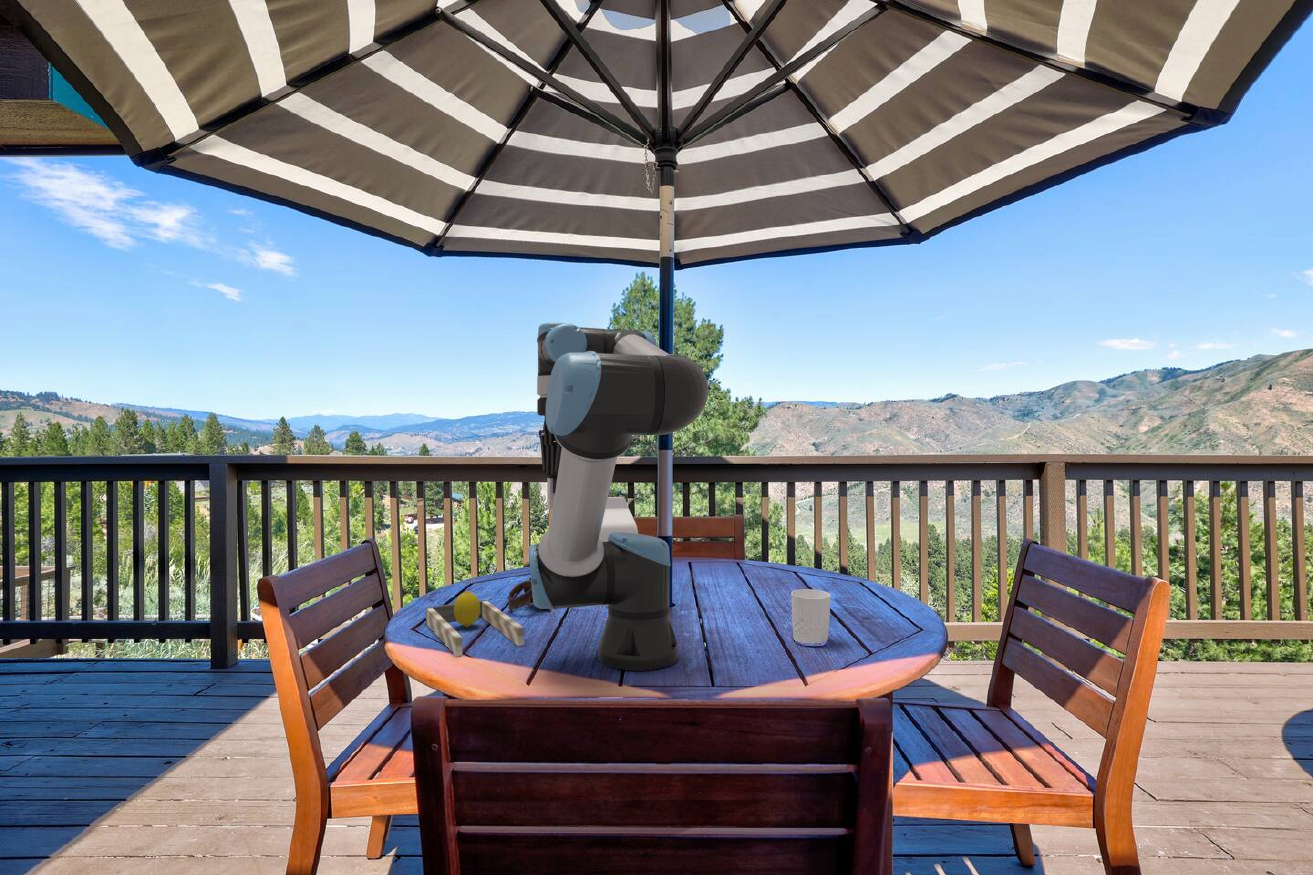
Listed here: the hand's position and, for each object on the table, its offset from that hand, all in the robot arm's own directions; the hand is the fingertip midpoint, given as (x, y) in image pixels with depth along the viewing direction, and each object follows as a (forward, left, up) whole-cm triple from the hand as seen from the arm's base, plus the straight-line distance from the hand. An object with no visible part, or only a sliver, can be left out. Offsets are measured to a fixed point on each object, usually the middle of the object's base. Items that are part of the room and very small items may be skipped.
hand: (554, 508), depth 139 cm
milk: (+19, -24, -27) cm, 41 cm away
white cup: (-32, -43, -27) cm, 60 cm away
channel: (+8, +15, -26) cm, 31 cm away
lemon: (+13, +15, -27) cm, 33 cm away
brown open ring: (+19, -2, -27) cm, 33 cm away
